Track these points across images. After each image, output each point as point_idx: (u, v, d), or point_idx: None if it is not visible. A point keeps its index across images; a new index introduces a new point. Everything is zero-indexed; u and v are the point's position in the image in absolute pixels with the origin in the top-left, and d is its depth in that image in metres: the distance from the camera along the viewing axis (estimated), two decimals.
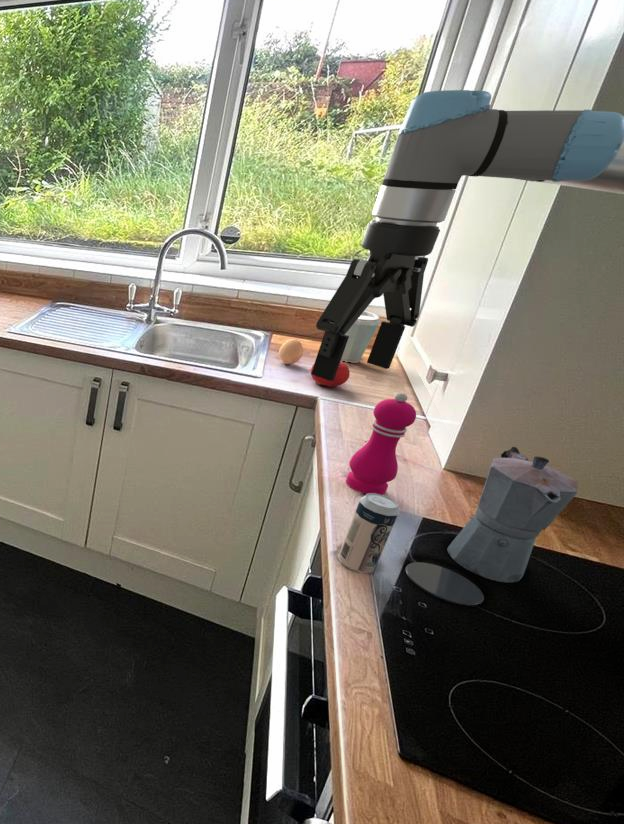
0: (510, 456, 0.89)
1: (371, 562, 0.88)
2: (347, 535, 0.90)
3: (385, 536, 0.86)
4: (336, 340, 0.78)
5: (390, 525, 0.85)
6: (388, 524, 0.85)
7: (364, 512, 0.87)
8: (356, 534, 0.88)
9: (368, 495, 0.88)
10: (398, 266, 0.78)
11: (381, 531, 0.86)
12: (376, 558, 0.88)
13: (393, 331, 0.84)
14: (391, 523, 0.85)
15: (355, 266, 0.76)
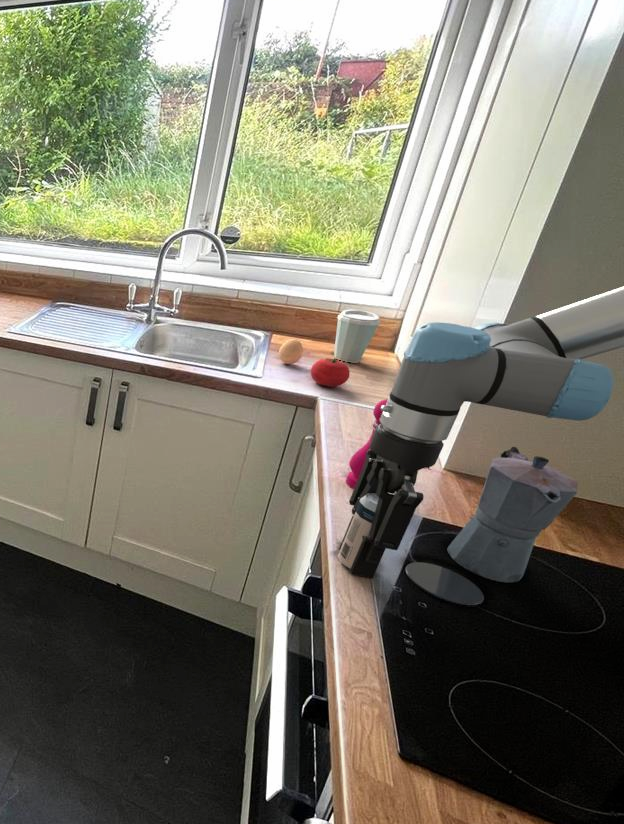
0: (510, 456, 0.89)
1: None
2: (347, 535, 0.90)
3: None
4: None
5: None
6: None
7: (364, 512, 0.87)
8: (356, 534, 0.88)
9: (368, 495, 0.88)
10: None
11: None
12: None
13: None
14: None
15: (405, 499, 0.79)
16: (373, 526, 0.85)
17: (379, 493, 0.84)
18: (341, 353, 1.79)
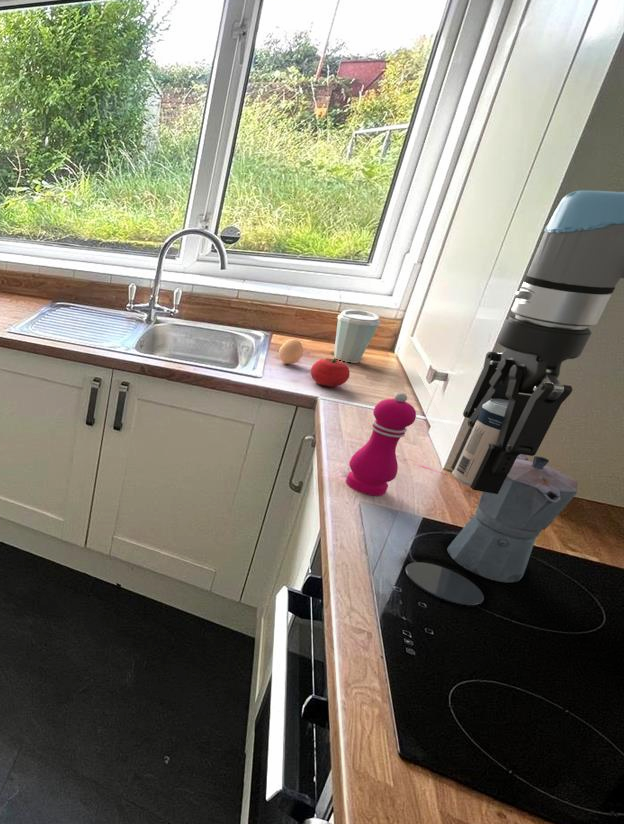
0: None
1: None
2: (466, 448, 0.80)
3: None
4: None
5: None
6: None
7: (490, 418, 0.77)
8: (478, 444, 0.78)
9: (492, 400, 0.78)
10: None
11: None
12: None
13: None
14: None
15: (550, 393, 0.70)
16: (503, 432, 0.75)
17: (511, 393, 0.74)
18: (341, 353, 1.79)
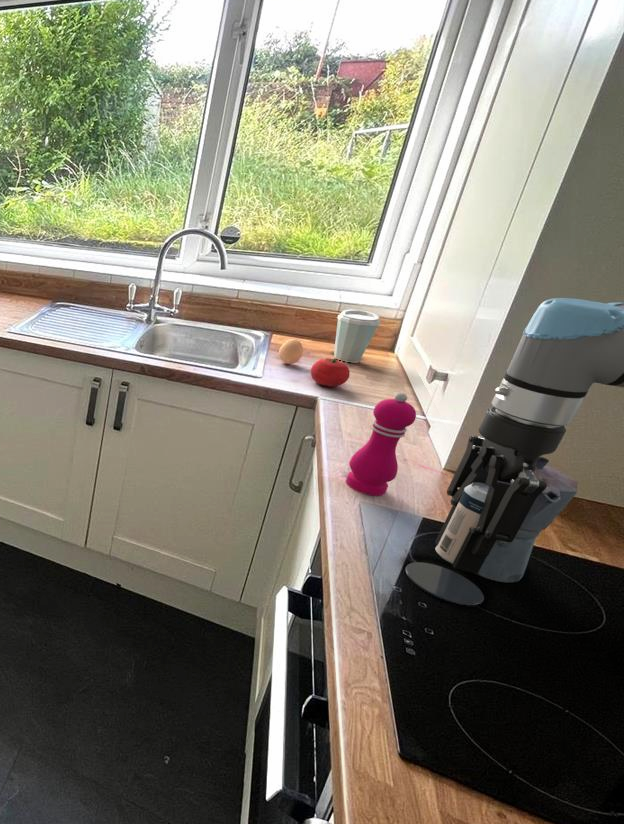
0: None
1: None
2: (448, 527, 0.85)
3: None
4: None
5: None
6: None
7: (471, 502, 0.81)
8: (460, 526, 0.83)
9: (473, 484, 0.82)
10: None
11: None
12: None
13: None
14: None
15: (526, 487, 0.74)
16: (482, 517, 0.80)
17: (490, 482, 0.79)
18: (341, 353, 1.79)
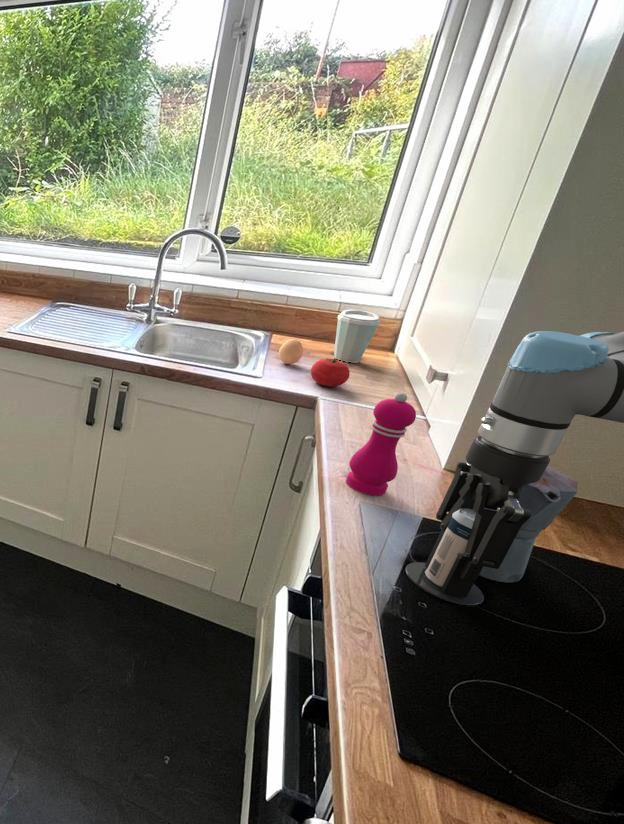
0: None
1: None
2: (437, 552, 0.86)
3: None
4: None
5: None
6: None
7: (458, 528, 0.83)
8: (448, 551, 0.84)
9: (461, 510, 0.84)
10: None
11: None
12: None
13: None
14: None
15: (511, 516, 0.76)
16: (470, 543, 0.81)
17: (477, 509, 0.80)
18: (341, 353, 1.79)
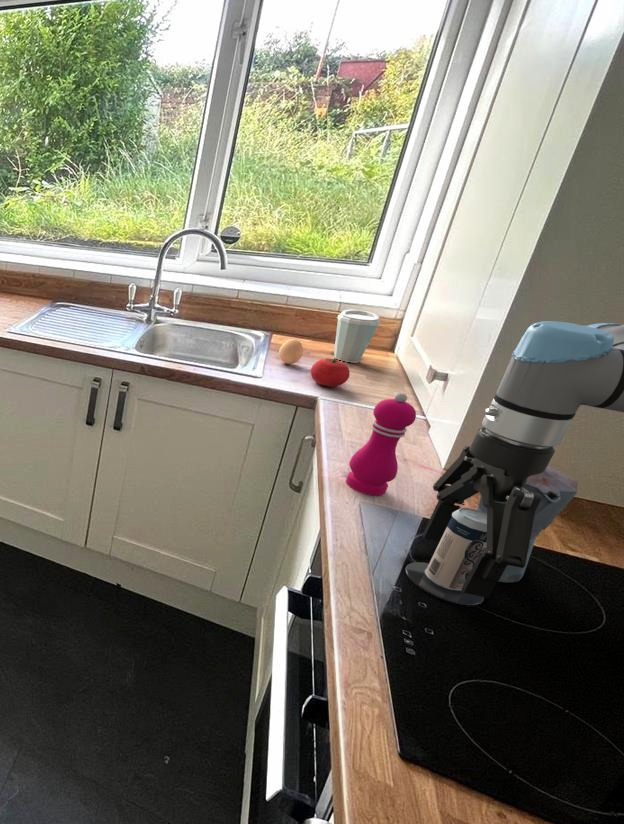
0: None
1: (464, 579, 0.84)
2: (437, 551, 0.86)
3: None
4: None
5: (486, 541, 0.82)
6: (484, 540, 0.82)
7: (458, 527, 0.83)
8: (448, 550, 0.85)
9: (461, 510, 0.84)
10: None
11: (476, 547, 0.82)
12: None
13: (452, 512, 0.89)
14: None
15: (522, 499, 0.74)
16: (489, 540, 0.78)
17: (487, 501, 0.79)
18: (341, 353, 1.79)
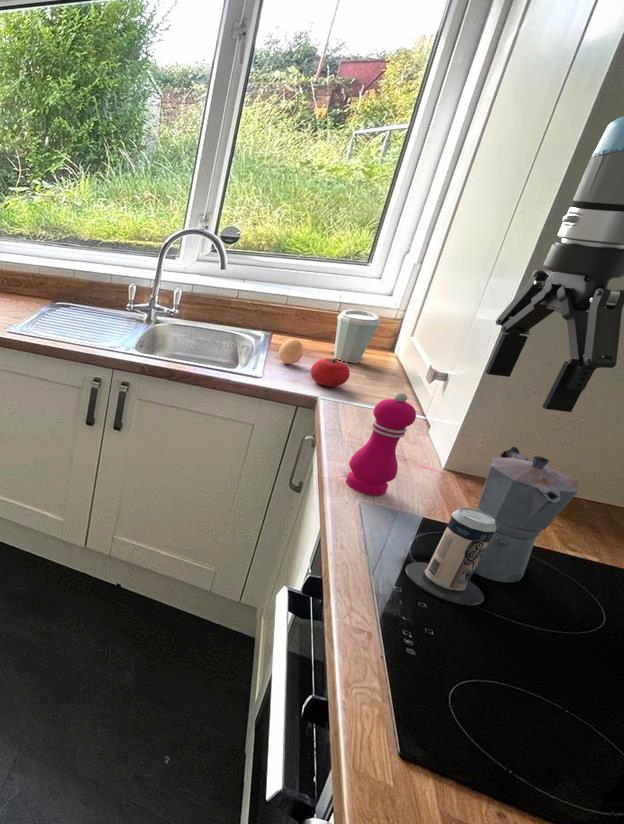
0: (510, 456, 0.89)
1: (464, 579, 0.84)
2: (437, 551, 0.86)
3: (480, 553, 0.83)
4: None
5: (486, 541, 0.82)
6: (484, 540, 0.82)
7: (458, 527, 0.83)
8: (448, 550, 0.85)
9: (461, 510, 0.84)
10: None
11: (476, 547, 0.82)
12: (469, 575, 0.84)
13: (518, 341, 0.88)
14: (488, 539, 0.82)
15: (608, 296, 0.73)
16: (573, 347, 0.76)
17: (567, 310, 0.77)
18: (341, 353, 1.79)
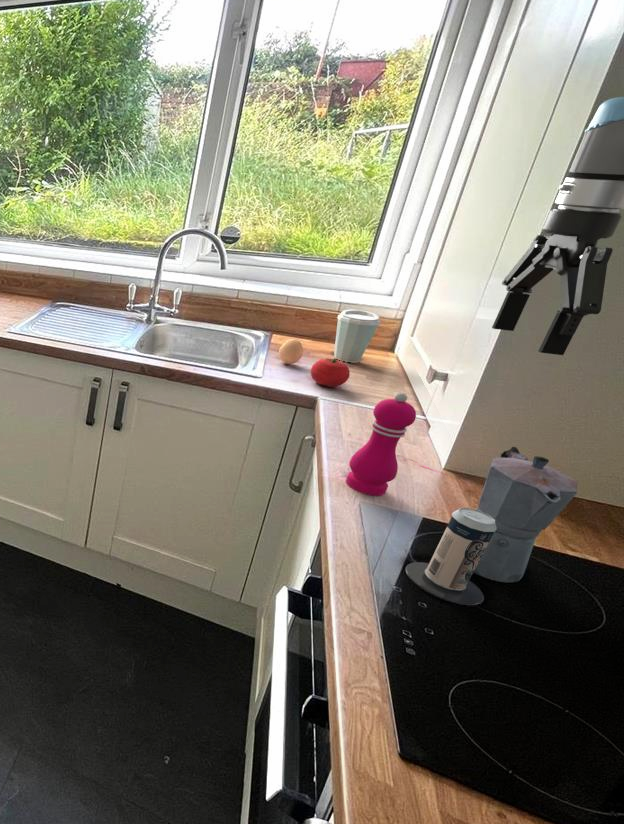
0: (510, 456, 0.89)
1: (464, 579, 0.84)
2: (437, 551, 0.86)
3: (480, 553, 0.83)
4: None
5: (486, 541, 0.82)
6: (484, 540, 0.82)
7: (458, 527, 0.83)
8: (448, 550, 0.85)
9: (461, 510, 0.84)
10: None
11: (476, 547, 0.82)
12: (469, 575, 0.84)
13: (521, 299, 1.00)
14: (488, 539, 0.82)
15: (595, 253, 0.85)
16: (565, 298, 0.88)
17: (561, 267, 0.89)
18: (341, 353, 1.79)
